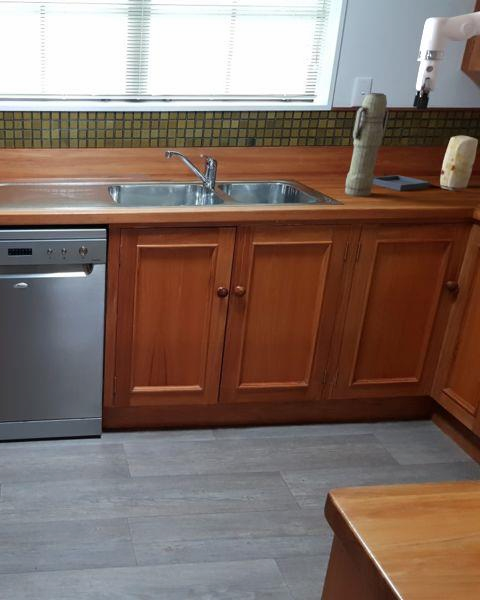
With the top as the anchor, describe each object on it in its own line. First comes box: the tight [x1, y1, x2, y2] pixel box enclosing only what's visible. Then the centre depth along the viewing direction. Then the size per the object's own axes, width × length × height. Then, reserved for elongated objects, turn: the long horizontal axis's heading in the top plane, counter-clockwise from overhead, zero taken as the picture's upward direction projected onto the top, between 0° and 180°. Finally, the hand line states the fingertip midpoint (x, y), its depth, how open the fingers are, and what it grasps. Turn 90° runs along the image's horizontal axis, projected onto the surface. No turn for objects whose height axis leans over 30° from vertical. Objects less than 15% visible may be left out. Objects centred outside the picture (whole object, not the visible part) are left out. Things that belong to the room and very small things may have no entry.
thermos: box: [344, 92, 390, 198], centre depth 216 cm, size 9×12×35 cm
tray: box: [372, 174, 431, 192], centre depth 237 cm, size 15×16×2 cm
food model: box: [439, 135, 479, 192], centre depth 227 cm, size 10×7×20 cm
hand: (419, 108), depth 217 cm, fingers open, 9 cm apart
